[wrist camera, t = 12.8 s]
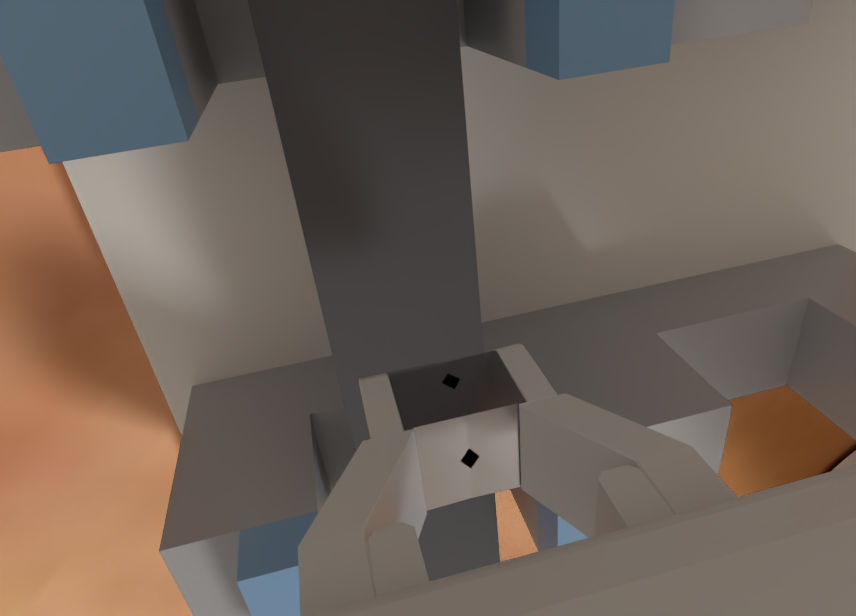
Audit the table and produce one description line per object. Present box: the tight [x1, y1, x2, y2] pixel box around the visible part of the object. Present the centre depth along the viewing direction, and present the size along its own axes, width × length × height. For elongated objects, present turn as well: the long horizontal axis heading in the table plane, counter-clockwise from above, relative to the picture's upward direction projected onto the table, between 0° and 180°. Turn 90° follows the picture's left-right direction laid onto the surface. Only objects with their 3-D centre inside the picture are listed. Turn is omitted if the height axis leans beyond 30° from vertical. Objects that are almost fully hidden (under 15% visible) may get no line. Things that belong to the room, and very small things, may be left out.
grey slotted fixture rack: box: [0, 0, 856, 616], centre depth 17 cm, size 28×20×10 cm
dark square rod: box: [247, 0, 500, 582], centre depth 15 cm, size 4×20×4 cm, turn 7°
